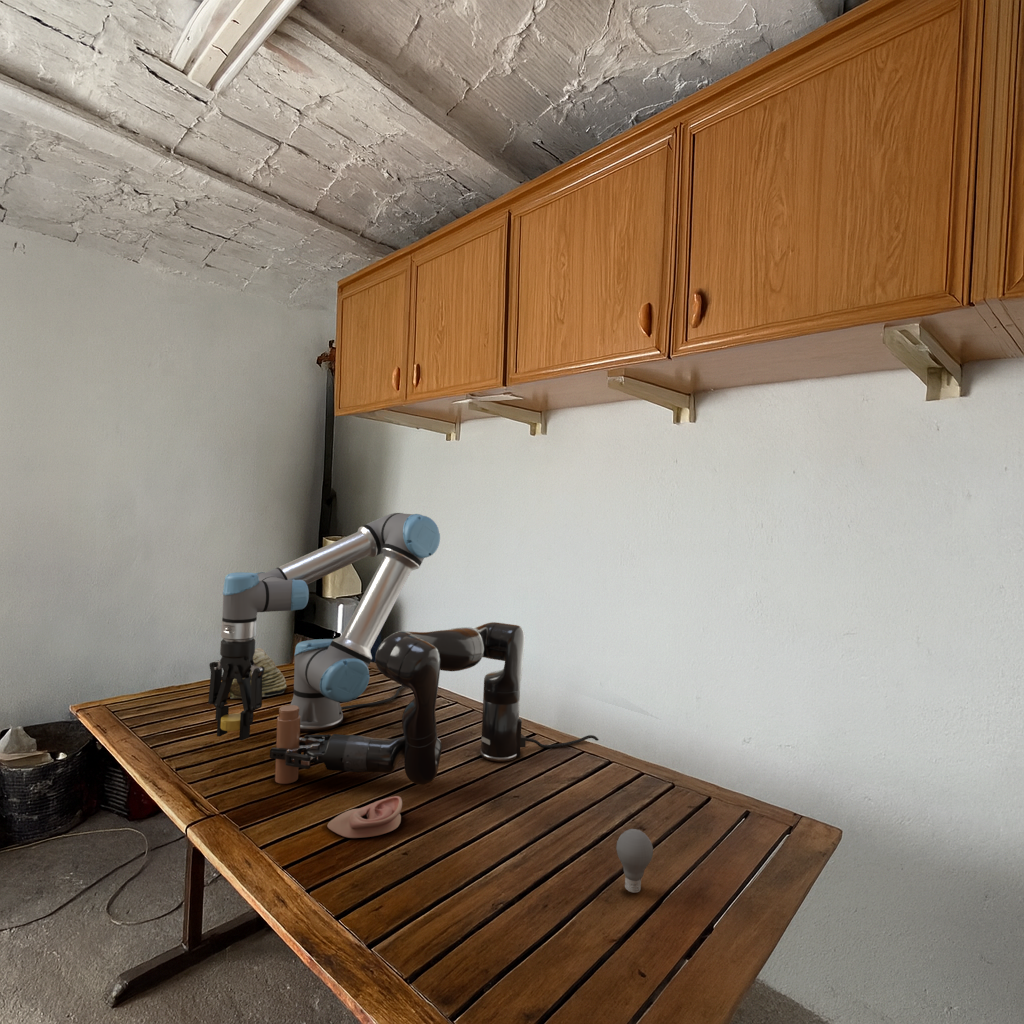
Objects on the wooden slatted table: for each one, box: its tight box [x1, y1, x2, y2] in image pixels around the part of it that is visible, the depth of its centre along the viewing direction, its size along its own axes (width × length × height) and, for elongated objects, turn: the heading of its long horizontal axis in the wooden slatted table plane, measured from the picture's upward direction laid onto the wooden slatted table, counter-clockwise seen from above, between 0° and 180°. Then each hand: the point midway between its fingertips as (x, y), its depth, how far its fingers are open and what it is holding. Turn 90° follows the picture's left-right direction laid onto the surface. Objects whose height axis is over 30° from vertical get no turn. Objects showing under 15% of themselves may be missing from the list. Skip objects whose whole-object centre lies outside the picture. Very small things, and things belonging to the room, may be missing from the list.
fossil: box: [229, 647, 288, 699], centre depth 198 cm, size 9×18×15 cm, turn 132°
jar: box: [274, 704, 301, 785], centre depth 141 cm, size 5×5×16 cm
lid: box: [220, 712, 241, 732], centre depth 149 cm, size 6×6×2 cm
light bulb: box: [615, 828, 654, 894], centre depth 106 cm, size 6×6×10 cm
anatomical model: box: [327, 795, 403, 839], centre depth 123 cm, size 13×4×12 cm
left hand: (233, 736), depth 149 cm, fingers closed on lid, 5 cm apart
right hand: (276, 748), depth 141 cm, fingers closed on jar, 5 cm apart
